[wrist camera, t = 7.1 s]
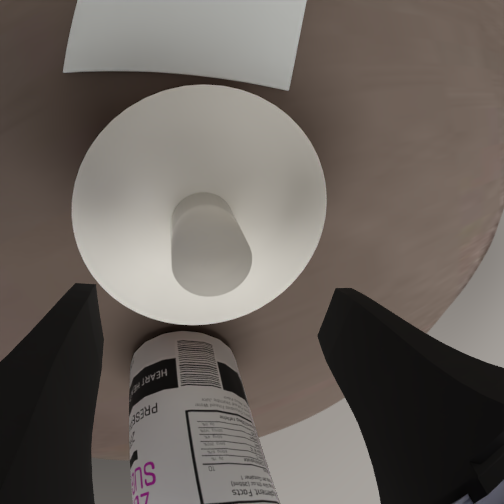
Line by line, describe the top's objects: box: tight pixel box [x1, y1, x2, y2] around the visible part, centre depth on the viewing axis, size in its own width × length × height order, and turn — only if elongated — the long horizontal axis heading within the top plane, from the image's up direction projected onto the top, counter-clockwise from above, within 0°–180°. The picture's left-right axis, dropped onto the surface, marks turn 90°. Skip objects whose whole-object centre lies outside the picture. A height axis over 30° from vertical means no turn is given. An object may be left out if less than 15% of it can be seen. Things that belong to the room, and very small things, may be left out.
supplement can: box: [129, 331, 280, 504], centre depth 17 cm, size 8×8×15 cm
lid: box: [72, 84, 327, 325], centre depth 12 cm, size 12×12×4 cm
